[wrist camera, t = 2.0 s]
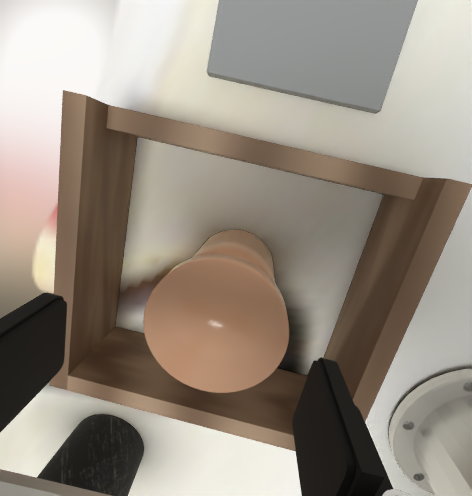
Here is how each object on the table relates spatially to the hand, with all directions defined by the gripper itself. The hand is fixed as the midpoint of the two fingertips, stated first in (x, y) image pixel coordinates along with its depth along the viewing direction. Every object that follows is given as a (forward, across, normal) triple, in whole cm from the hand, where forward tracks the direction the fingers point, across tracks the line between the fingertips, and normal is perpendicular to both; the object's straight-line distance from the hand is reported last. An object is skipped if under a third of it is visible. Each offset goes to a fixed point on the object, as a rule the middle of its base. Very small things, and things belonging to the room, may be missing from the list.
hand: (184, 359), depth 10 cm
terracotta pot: (+12, -1, 0) cm, 12 cm away
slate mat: (+12, -2, -18) cm, 21 cm away
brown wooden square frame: (+12, -1, 0) cm, 12 cm away
